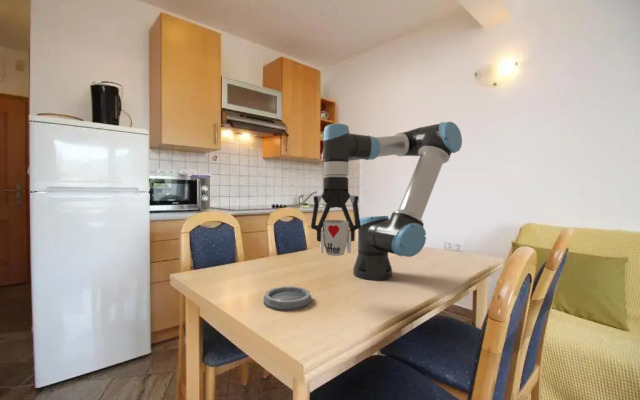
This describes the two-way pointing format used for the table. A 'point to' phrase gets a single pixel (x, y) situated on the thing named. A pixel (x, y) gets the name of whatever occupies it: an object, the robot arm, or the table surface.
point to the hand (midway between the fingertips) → (335, 251)
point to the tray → (287, 298)
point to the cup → (335, 236)
